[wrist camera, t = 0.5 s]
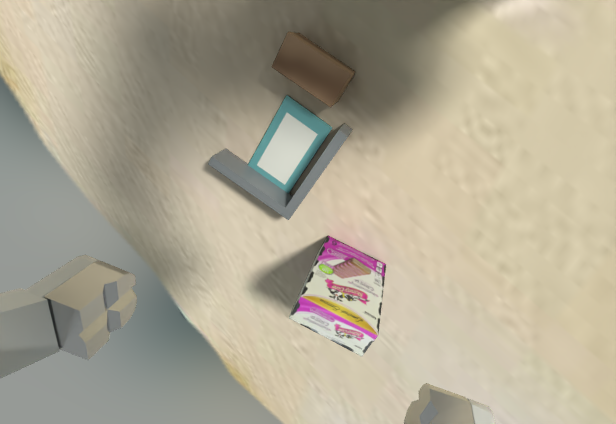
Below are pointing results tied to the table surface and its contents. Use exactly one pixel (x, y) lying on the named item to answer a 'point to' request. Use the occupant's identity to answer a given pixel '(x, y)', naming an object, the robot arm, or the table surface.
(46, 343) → the robot arm
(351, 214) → the table surface
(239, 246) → the table surface
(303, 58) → the walnut block
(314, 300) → the candy bar box
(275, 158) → the corner bracket
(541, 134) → the table surface
